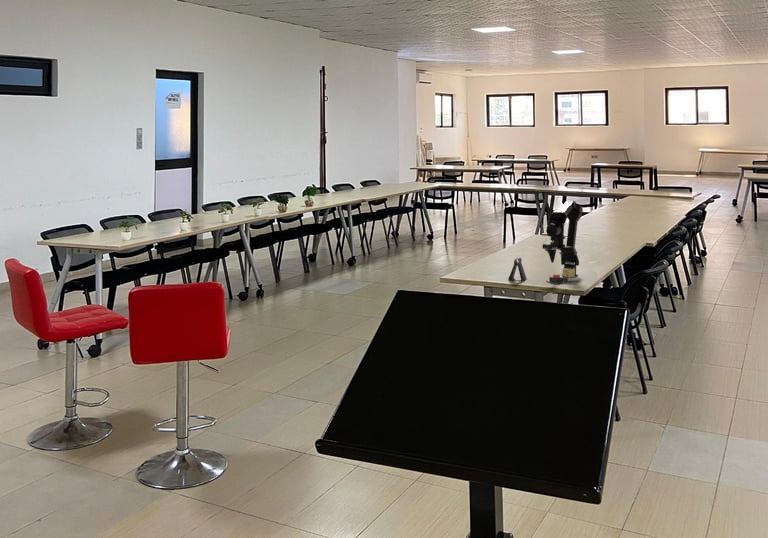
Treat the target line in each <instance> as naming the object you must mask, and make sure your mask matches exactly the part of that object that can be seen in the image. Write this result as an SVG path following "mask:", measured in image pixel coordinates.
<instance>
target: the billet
mask: <svg viewBox="0 0 768 538" xmlns="http://www.w3.org/2000/svg"><path fill="white" fill-rule="evenodd" d="M562 274H563V275H562V276H563V277H565V278H574V277H575V269H573V268H564V267H563V268H562Z"/></svg>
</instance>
